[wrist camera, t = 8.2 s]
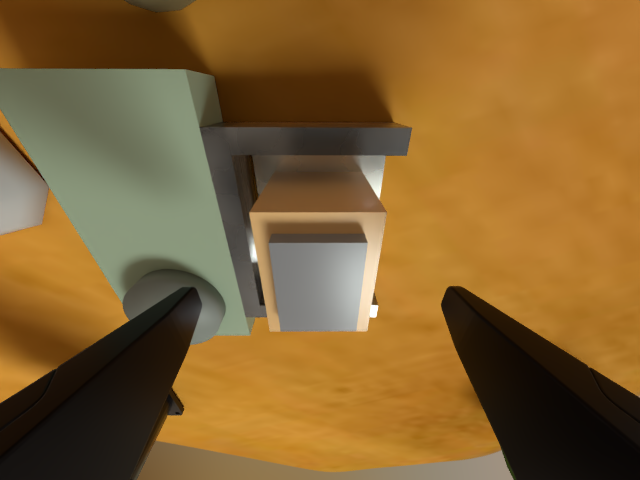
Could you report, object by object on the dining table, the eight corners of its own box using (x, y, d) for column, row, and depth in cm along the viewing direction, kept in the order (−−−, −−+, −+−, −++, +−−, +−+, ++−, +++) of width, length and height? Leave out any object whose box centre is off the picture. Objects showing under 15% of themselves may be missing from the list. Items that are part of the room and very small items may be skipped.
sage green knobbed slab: (258, 306, 17) (245, 349, 14) (164, 306, 17) (131, 349, 14) (214, 75, 10) (168, 65, 7) (49, 75, 10) (-69, 64, 7)
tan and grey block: (353, 264, 15) (369, 342, 10) (284, 265, 15) (267, 343, 10) (362, 171, 12) (391, 220, 7) (274, 171, 12) (243, 220, 7)
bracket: (368, 288, 16) (375, 317, 14) (255, 288, 16) (245, 317, 14) (393, 122, 11) (412, 127, 9) (222, 121, 11) (199, 127, 9)
